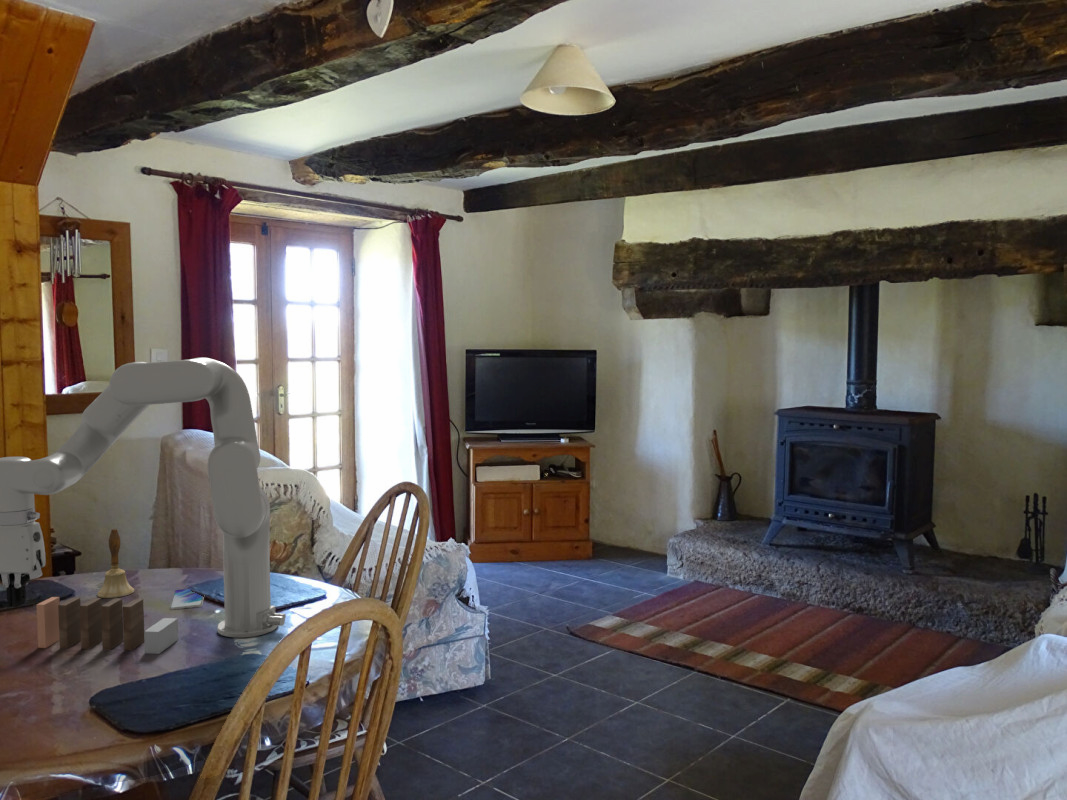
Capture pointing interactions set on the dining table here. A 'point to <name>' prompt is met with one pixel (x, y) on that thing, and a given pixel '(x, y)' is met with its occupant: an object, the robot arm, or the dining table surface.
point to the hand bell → (115, 573)
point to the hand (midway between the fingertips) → (16, 604)
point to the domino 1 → (48, 622)
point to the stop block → (161, 635)
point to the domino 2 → (69, 622)
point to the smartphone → (186, 599)
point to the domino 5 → (133, 624)
